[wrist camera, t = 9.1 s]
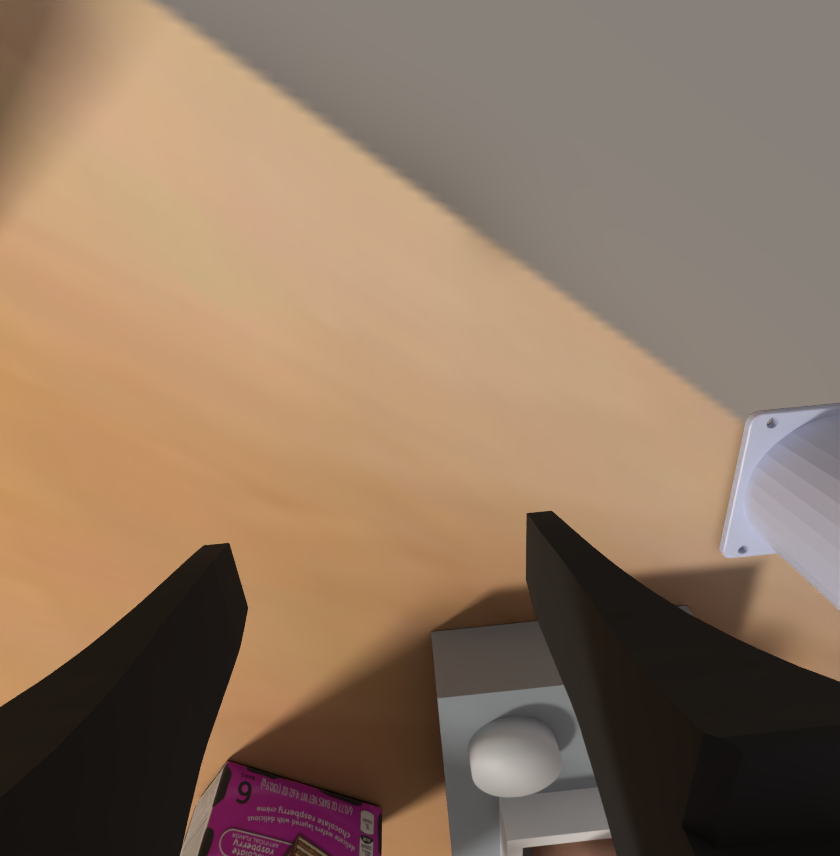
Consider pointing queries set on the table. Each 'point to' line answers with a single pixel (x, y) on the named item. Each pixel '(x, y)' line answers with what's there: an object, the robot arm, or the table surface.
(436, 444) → the table surface
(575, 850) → the peach tapered capsule
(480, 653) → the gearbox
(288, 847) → the candy bar box
